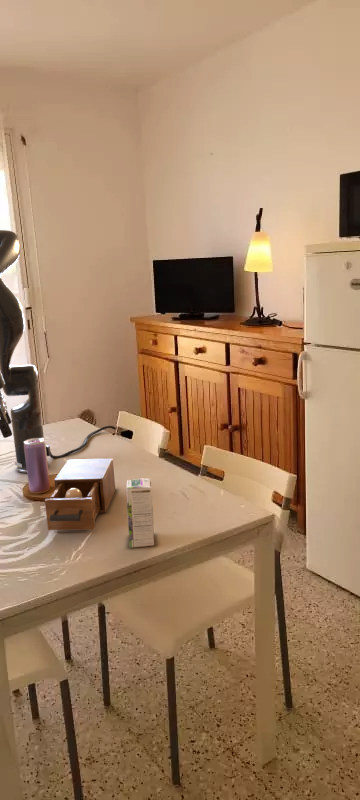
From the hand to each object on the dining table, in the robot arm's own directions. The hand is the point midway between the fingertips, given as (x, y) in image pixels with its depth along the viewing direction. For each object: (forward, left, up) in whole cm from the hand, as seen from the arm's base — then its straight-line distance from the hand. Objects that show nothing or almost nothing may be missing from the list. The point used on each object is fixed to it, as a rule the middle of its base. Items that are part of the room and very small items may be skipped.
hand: (8, 430), depth 155 cm
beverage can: (-17, +1, -23) cm, 29 cm away
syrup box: (+16, +35, -24) cm, 45 cm away
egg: (+6, +17, -21) cm, 28 cm away
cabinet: (-8, +17, -23) cm, 30 cm away
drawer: (+6, +17, -22) cm, 29 cm away
